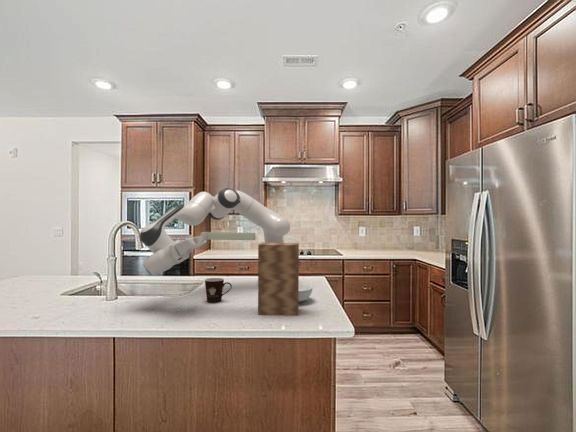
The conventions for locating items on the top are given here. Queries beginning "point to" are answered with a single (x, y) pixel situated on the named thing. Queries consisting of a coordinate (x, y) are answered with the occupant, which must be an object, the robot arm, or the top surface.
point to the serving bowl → (304, 291)
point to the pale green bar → (229, 236)
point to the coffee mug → (215, 289)
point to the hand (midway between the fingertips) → (208, 234)
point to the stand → (278, 278)
